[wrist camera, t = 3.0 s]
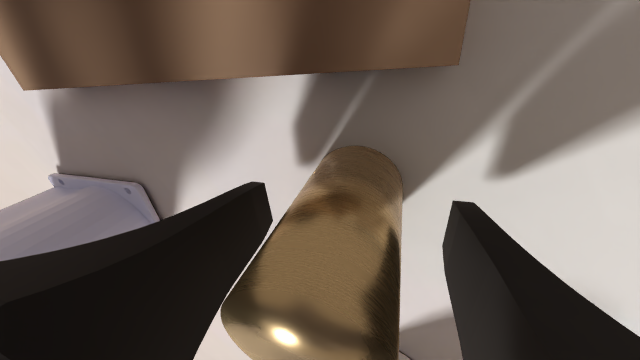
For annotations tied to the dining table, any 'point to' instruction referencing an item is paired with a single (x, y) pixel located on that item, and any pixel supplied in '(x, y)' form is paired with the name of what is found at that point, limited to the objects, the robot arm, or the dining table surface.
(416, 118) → the dining table surface
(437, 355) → the dining table surface
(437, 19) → the jig board
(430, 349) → the dining table surface
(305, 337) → the cylinder
